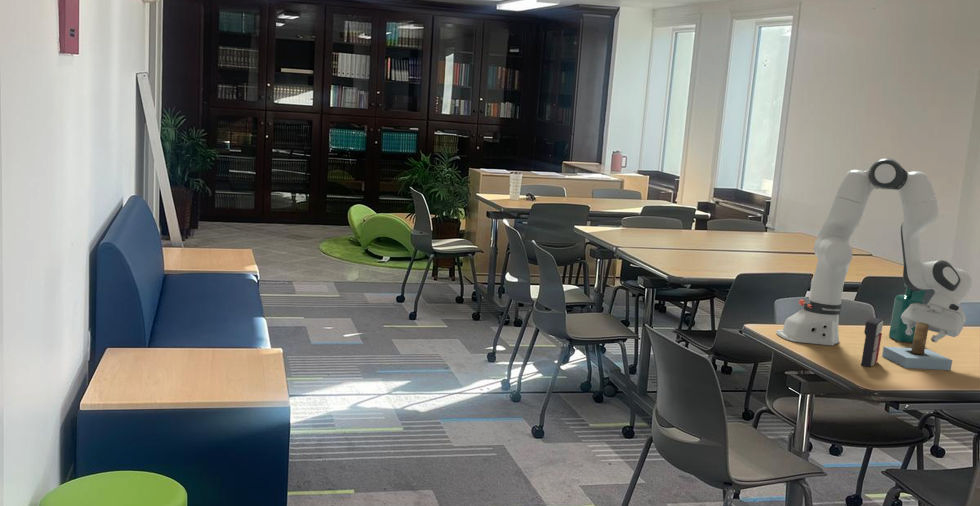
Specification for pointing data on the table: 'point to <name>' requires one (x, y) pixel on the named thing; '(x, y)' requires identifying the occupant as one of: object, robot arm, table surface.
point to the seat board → (917, 358)
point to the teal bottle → (899, 307)
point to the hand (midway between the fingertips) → (920, 337)
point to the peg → (919, 339)
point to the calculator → (872, 341)
